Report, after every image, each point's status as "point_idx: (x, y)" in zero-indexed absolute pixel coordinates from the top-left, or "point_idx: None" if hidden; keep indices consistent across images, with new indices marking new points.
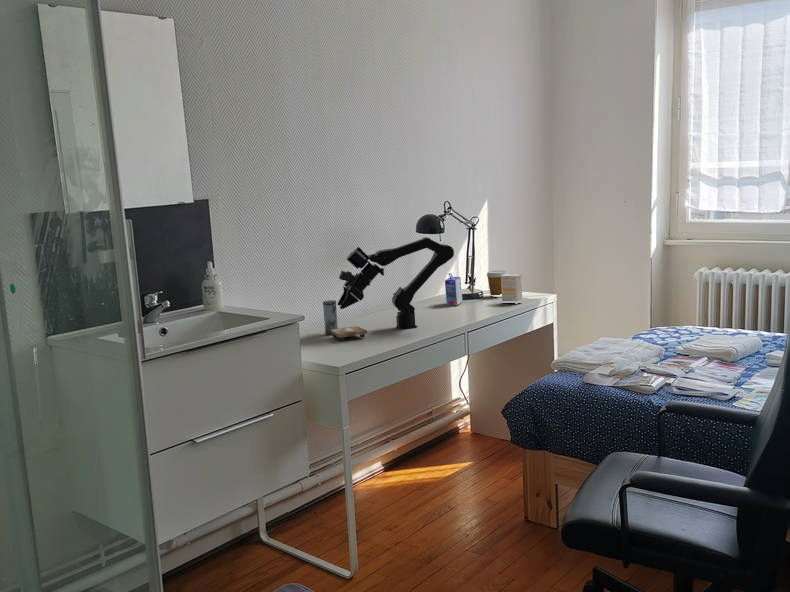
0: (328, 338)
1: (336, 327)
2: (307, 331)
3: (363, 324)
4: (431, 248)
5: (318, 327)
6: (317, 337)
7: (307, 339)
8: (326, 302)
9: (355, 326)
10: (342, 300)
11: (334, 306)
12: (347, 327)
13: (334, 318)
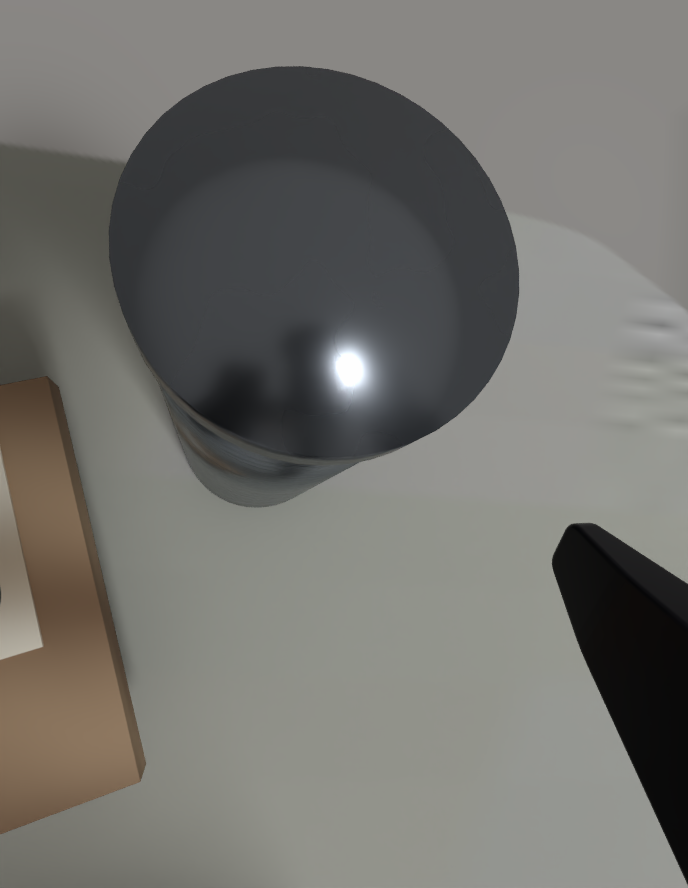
0: (24, 376)
1: (207, 482)
2: None
3: None
4: None
5: (654, 342)
6: None
7: (89, 160)
8: (153, 141)
9: (107, 762)
10: (646, 670)
11: (189, 416)
12: (89, 635)
13: (183, 442)
